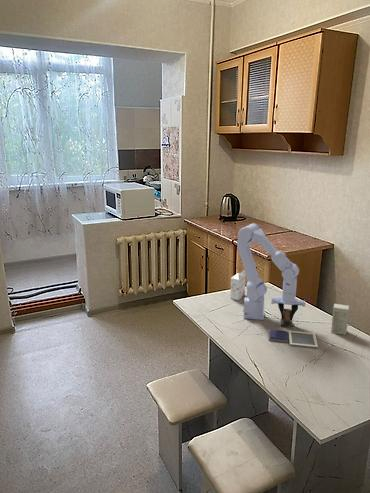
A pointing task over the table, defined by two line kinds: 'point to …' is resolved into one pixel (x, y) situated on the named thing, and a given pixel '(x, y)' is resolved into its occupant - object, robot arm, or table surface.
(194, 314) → the table surface
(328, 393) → the table surface
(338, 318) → the skincare box
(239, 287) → the ink cartridge box
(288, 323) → the stamp
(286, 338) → the ink pad
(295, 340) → the marked square
